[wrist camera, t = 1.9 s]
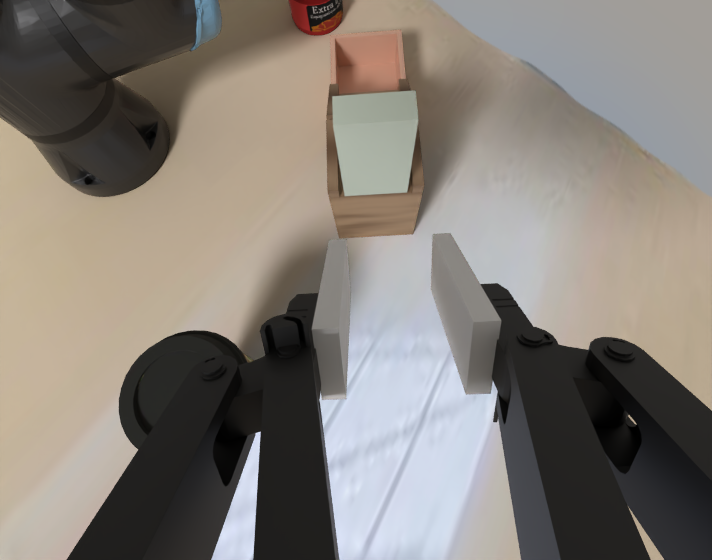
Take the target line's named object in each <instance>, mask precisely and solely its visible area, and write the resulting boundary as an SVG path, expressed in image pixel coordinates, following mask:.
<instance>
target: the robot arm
mask: <svg viewBox="0 0 712 560" xmlns="http://www.w3.org/2000/svg"><path fill="white" fill-rule="evenodd" d="M221 27H222V17H221V11H220V6H219V2H218V0H0V118H2V119H3V120H4V121H6V122H7V123H9V124H10V125H11V126H13V127H14V128H16V129H17V130H19V131H20V132H21V133H23V134H24V135H25V136H27V137H28V138H30V139H31V140H32V141H33V143H34V144H35V145H36V147H37V148H38V150H39V151H40V152H41V154H42V155H43V156H44V158H45V159H46V160H47V162H48V163H49V164H50V166H51V167H52V168H53V170H54V171H55V172H56V174H57V175H58V176H59V177H60V178H61V179H63V180H64V181H65V182H67V183H68V184H70V185H71V186H73V187H74V188H76V189H77V190H79V191H81V192H83V193H85V194H88V195H92V196H99V197H107V196H115V195H119V194H123V193H126V192H128V191H131V190H133V189H135V188H137V187H138V186H140V185H142V184H143V183H144V182H146V181H147V180H148V179H149V178H150V177H152V176H153V175H154V173H155V172H156V171H157V170H158V169H159V167H160V166H161V164H162V163H163V161H164V159H165V157H166V154H167V151H168V148H169V140H170V138H169V130H168V127H167V124H166V122H165V120H164V119H163V117H162V116H161V115H160V113H159V112H158V111H157V110H156V108H155V107H154V106H153V105H152V104H151V103H150V102H149V101H148V100H146V99H145V98H144V97H142V96H141V95H139V94H137V93H136V92H134V91H133V90H131V89H130V88H128V87H127V86H125V85H124V84H122V83H121V82H119V81H118V80H116V79H114V78H116V77H118V76H121V75H123V74H126V73H129V72H131V71H134V70H137V69H140V68H142V67H145V66H148V65H151V64H154V63H156V62H159V61H162V60H165V59H167V58H170V57H173V56H176V55H178V54H181V53H184V52H187V51H193V50H195V49H196V48H198V47H199V45H201V44H203V43H206V42H208V41H210V40H212V39H214V38H216V37H217V36H218V34H219V33H220V31H221ZM431 291H432V294H433V297H434V300H435V303H436V306H437V309H438V312H439V315H440V318H441V321H442V324H443V327H444V330H445V333H446V336H447V339H448V342H449V345H450V348H451V351H452V354H453V357H454V360H455V363H456V366H457V369H458V372H459V375H460V378H461V381H462V384H463V387H464V390H465V393H466V394H490V393H491V388H492V381H494V384H495V386H496V388H497V390H498V393H497V400H496V406H495V412H494V419H493V422H497V420H498V419H499V425H500V431H501V438H502V444H503V450H504V456H505V462H506V468H507V474H508V481H509V487H510V493H511V499H512V505H513V511H514V517H515V524H516V530H517V536H518V542H519V548H520V554H521V560H651V559H650V557H649V555H648V552H647V550H646V548H645V545H644V543H643V541H642V538H641V536H640V534H639V531H638V529H637V527H636V524H635V522H634V520H633V517H632V515H631V513H630V510H631V511H632V512H633V514H634V515H635V517H636V518H637V520H638V521H639V523H640V524H641V526H642V527H643V529H644V530H645V532H646V533H647V535H648V536H649V538H650V539H651V540H652V542H653V543H654V545H655V546H656V548H657V549H658V551H659V552H660V554H661V555H662V557H663V558H664V560H712V411H711V410H710V409H709V408H708V407H707V406H706V405H705V404H703V403H702V402H701V401H700V400H699V399H698V398H697V397H696V396H694V395H693V394H692V393H691V392H690V391H689V390H688V389H687V388H685V387H684V386H683V385H682V384H681V383H680V382H679V381H678V380H676V379H675V378H674V377H673V376H672V375H671V374H670V373H669V372H667V371H666V370H665V369H664V368H663V367H662V366H661V365H659V364H658V363H657V362H656V361H655V360H654V359H653V358H652V357H650V356H649V355H648V354H647V353H646V352H645V351H644V350H642V349H641V348H639V347H638V346H636V345H635V344H632V343H630V342H628V341H625V340H622V339H618V338H612V337H601V338H597V339H594V340H593V341H592V342H591V343H590V346H589V350H585V349H579V348H573V347H567V346H562V345H558V342H557V341H556V339H555V338H554V337H553V335H551V334H550V333H548V332H547V331H545V330H542V329H540V328H537V327H533V326H532V324H531V323H530V321H529V320H528V318H527V317H526V315H525V314H524V313H523V311H522V310H521V308H520V307H518V304H517V303H516V301H515V300H514V298H513V297H512V295H511V294H510V293H509V291H508V290H507V289H505V288H504V287H502V286H501V285H499V284H497V283H495V284H480V283H479V281H478V280H477V278H476V276H475V274H474V273H473V271H472V269H471V268H470V266H469V264H468V262H467V261H466V259H465V257H464V256H463V254H462V252H461V250H460V249H459V247H458V245H457V243H456V242H455V240H454V238H453V237H452V235H451V233H445V234H433V242H432V269H431ZM350 303H351V287H350V275H349V263H348V251H347V239H337V240H329V244H328V249H327V254H326V259H325V264H324V269H323V274H322V279H321V284H320V289H319V293H314V294H297V295H296V296H295V297H294V298H293V299H292V300H291V301H290V303H289V306H288V309H287V312H286V314H283V315H279V316H275V317H273V318H271V319H269V320H267V321H266V322H265V323H264V324H263V325H262V327H261V330H260V333H261V337H262V342H263V346H264V350H265V356H264V357H262V358H260V359H258V360H255V361H252V362H248V363H244V364H241V365H238V364H237V361H236V359H234V358H233V357H231V356H227V355H218V356H212V357H209V358H207V359H204V360H202V361H201V362H199V363H198V364H196V365H195V366H194V367H193V368H192V369H191V371H190V372H189V373H188V375H187V377H186V378H185V380H184V381H183V383H182V384H181V386H180V387H179V389H178V390H177V392H176V393H175V395H174V396H173V398H172V399H171V401H170V403H169V404H168V406H167V407H166V409H165V410H164V412H163V413H162V415H161V416H160V418H159V419H158V421H157V422H156V424H155V425H154V427H153V428H152V430H151V432H150V433H149V435H148V436H147V438H146V439H145V441H144V442H143V444H142V445H141V447H140V448H139V450H138V451H137V453H136V454H135V456H134V457H133V459H132V461H131V462H130V464H129V465H128V467H127V468H126V470H125V471H124V473H123V474H122V476H121V477H120V479H119V480H118V482H117V483H116V485H115V486H114V488H113V490H112V491H111V493H110V494H109V496H108V497H107V499H106V500H105V502H104V503H103V505H102V506H101V508H100V509H99V511H98V512H97V514H96V516H95V517H94V519H93V520H92V522H91V523H90V525H89V526H88V528H87V529H86V531H85V532H84V534H83V535H82V537H81V538H80V540H79V541H78V543H77V545H76V546H75V548H74V549H73V551H72V552H71V554H70V555H69V557H68V558H67V560H211V558H212V556H213V553H214V550H215V547H216V544H217V542H218V539H219V536H220V533H221V530H222V528H223V525H224V522H225V519H226V516H227V513H228V511H229V508H230V505H231V502H232V499H233V497H234V494H235V491H236V488H237V485H238V482H239V480H240V477H241V474H242V471H243V468H244V466H245V463H246V460H247V457H248V454H249V451H250V449H251V446H252V443H253V440H254V437H255V433H257V432H260V431H261V438H260V455H259V472H258V489H257V506H256V524H255V541H254V558H253V560H339V554H338V546H337V538H336V530H335V521H334V513H333V505H332V497H331V489H330V481H329V473H328V464H327V456H326V448H325V440H324V432H323V424H322V415H321V408H320V402H319V399H320V391H321V396H322V400H332V399H346V390H347V368H348V346H349V325H350ZM628 415H630V416H631V417H632V418H633V420H634V421H635V422H636V424H637V425H636V424H634V423H633V422H632V421H631V419H630V418H629V417H628ZM627 505H628V506H627ZM628 507H629V508H630V510H629V508H628Z"/></svg>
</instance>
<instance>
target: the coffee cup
mask: <svg viewBox="0 0 712 560" xmlns="http://www.w3.org/2000/svg"><path fill="white" fill-rule="evenodd" d="M218 355H227V356H231V357H233V358H234V359H236V361H237V364H238V365H241V364H244V363H248V362H252V361H254V360H252V359H251V358H249V357H248V356H246V355H245V354H243V353H242V352H241V351H240V349H239V348H238V347H237V346H236V345H235V344H234V343H232V342H231V341H230V340H229V339H227V338H225V337H223V336H221V335H219V334H217V333H213V332H208V331H186V332H181V333H177V334H174V335H172V336H169V337H167V338H165V339H163V340H161V341H160V342H158V343H156V344H155V345H153V346H152V347H150V348H148V349H147V350H146V351H145V352H144V353H143V354H142V355H140V356H139V358H138V359H137V360H136V361H135V362H134V364H133V365H132V366H131V368H130V370H129V371H128V373H127V375H126V377H125V379H124V382H123V385H122V387H121V392H120V397H119V415H120V421H121V425H122V427H123V430H124V432H125V434H126V436H127V437H128V439H129V440H130V442H131V443H132V444H133V445H134V446H135V447H136V448H137V449H138V450H139V448H140V447H141V445H142V444H143V442H144V441H145V439H146V438H147V436H148V435H149V433H150V432H151V430H152V428H153V427H154V425H155V424H156V422H157V421H158V419H159V418H160V416H161V415H162V413H163V412H164V410H165V409H166V407H167V406H168V404H169V403H170V401H171V399H172V398H173V396H174V395H175V393H176V392H177V390H178V389H179V387H180V386H181V384H182V383H183V381H184V380H185V378H186V377H187V375H188V373H189V372H190V371H191V369H192V368H193V367H194V366H195V365H196V364H198V363H199V362H201V361H202V360H204V359H207V358H209V357H212V356H218Z"/></svg>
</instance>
